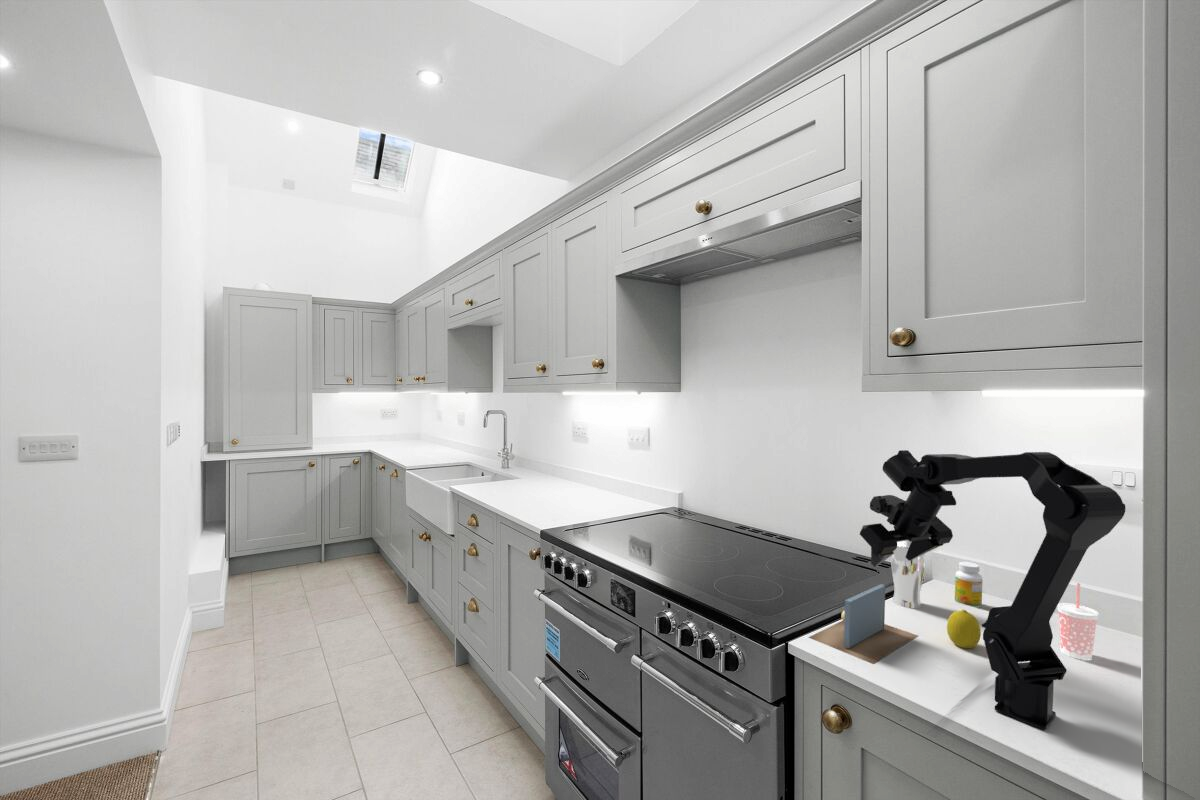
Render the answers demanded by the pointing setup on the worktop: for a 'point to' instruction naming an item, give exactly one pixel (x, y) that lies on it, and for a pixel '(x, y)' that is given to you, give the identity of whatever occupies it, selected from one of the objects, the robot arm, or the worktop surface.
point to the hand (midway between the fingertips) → (890, 562)
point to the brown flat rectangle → (866, 642)
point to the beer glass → (907, 576)
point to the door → (864, 615)
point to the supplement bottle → (968, 585)
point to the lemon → (963, 629)
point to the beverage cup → (1077, 628)
